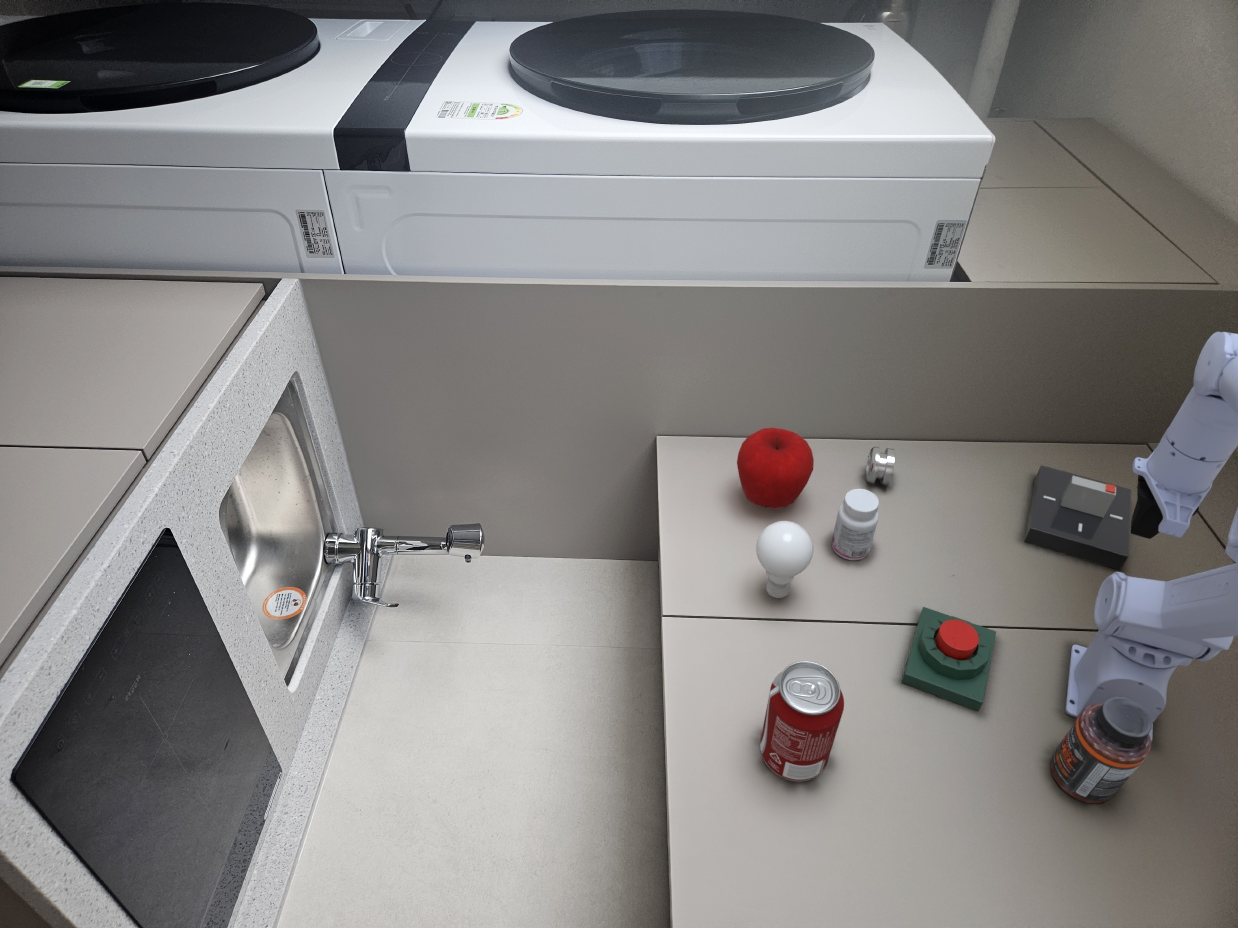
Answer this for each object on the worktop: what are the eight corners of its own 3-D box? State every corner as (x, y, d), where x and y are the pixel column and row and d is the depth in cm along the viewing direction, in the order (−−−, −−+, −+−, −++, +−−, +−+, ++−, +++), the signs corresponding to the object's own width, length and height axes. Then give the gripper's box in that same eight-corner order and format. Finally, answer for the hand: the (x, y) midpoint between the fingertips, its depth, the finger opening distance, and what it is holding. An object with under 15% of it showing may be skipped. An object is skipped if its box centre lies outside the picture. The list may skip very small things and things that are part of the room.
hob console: (1120, 570, 98) (1128, 555, 96) (1024, 541, 102) (1030, 526, 100) (1123, 502, 107) (1131, 488, 105) (1034, 478, 110) (1041, 464, 109)
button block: (978, 711, 84) (988, 692, 82) (901, 682, 87) (908, 663, 85) (992, 640, 91) (1001, 621, 89) (919, 615, 94) (926, 596, 91)
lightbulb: (784, 622, 93) (796, 560, 86) (739, 594, 96) (747, 531, 89) (813, 590, 97) (828, 527, 89) (770, 564, 100) (780, 501, 92)
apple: (747, 530, 104) (755, 468, 97) (722, 481, 111) (728, 420, 104) (818, 516, 106) (831, 454, 98) (789, 469, 113) (800, 408, 105)
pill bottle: (837, 528, 104) (849, 481, 98) (874, 541, 102) (887, 494, 97) (825, 552, 101) (836, 505, 95) (862, 566, 99) (876, 519, 94)
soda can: (827, 790, 78) (848, 725, 70) (757, 778, 79) (770, 713, 71) (826, 727, 83) (846, 660, 75) (760, 717, 84) (773, 650, 76)
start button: (971, 665, 85) (975, 655, 84) (932, 651, 86) (936, 641, 85) (977, 637, 87) (981, 627, 86) (939, 624, 89) (943, 614, 88)
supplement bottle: (1040, 745, 81) (1081, 682, 74) (1101, 750, 81) (1149, 687, 73) (1058, 803, 77) (1104, 742, 69) (1123, 808, 76) (1177, 748, 69)
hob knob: (1060, 505, 103) (1072, 481, 100) (1061, 497, 104) (1073, 473, 101) (1103, 517, 101) (1116, 493, 98) (1104, 509, 102) (1117, 485, 99)
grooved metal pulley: (887, 493, 109) (895, 465, 105) (864, 489, 109) (871, 462, 106) (887, 468, 112) (894, 441, 109) (865, 465, 113) (872, 438, 110)
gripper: (1154, 388, 85) (1104, 478, 94) (1151, 478, 76) (1096, 567, 85) (1231, 406, 83) (1172, 496, 92) (1237, 500, 73) (1171, 590, 83)
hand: (1140, 532), depth 89 cm, fingers closed
